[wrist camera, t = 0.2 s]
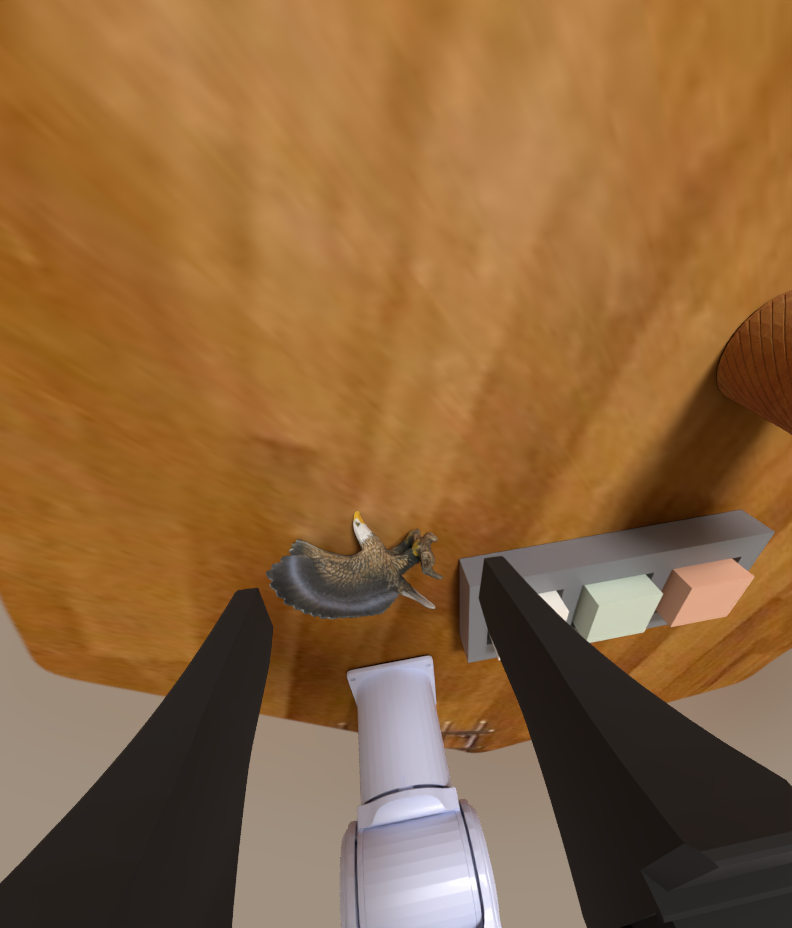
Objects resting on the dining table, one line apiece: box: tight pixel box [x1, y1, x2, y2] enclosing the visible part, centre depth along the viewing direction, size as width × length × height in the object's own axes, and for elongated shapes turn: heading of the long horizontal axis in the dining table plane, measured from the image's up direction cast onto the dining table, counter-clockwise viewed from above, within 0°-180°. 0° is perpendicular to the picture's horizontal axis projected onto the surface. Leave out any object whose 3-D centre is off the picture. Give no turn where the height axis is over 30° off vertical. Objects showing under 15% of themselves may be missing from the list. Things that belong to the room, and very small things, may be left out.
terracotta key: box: [655, 558, 754, 627], centre depth 27 cm, size 5×5×3 cm
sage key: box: [572, 574, 663, 643], centre depth 27 cm, size 5×5×3 cm
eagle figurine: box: [266, 511, 443, 619], centre depth 21 cm, size 8×7×9 cm
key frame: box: [460, 510, 775, 663], centre depth 28 cm, size 10×23×2 cm, turn 96°
